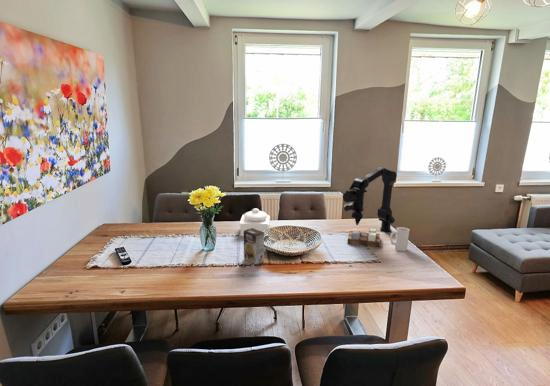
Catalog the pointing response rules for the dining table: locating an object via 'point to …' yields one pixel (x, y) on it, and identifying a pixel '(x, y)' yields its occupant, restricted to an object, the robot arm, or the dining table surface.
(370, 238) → the cream white cube
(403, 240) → the mug
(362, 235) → the brown shallow tray
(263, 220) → the white lidded jar
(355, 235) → the key slate
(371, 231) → the key sage
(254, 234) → the coffee box
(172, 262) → the dining table surface
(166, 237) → the dining table surface
